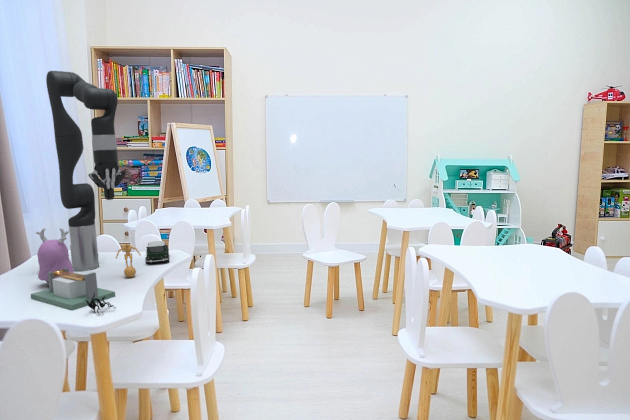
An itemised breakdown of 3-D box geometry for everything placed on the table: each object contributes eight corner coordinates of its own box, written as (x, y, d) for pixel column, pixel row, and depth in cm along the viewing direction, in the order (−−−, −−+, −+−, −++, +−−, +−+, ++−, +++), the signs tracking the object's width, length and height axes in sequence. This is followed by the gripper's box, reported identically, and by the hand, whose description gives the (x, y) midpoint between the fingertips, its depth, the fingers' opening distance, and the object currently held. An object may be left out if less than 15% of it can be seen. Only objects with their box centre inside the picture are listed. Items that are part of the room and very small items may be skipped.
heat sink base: (31, 298, 148) (27, 270, 147) (73, 286, 160) (70, 260, 159) (72, 310, 136) (69, 280, 135) (115, 296, 148) (112, 268, 147)
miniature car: (168, 254, 205) (167, 236, 203) (169, 264, 188) (168, 244, 186) (147, 256, 202) (145, 238, 201) (145, 266, 185) (144, 246, 184)
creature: (120, 309, 139) (93, 305, 138) (122, 292, 138) (95, 287, 138) (109, 319, 131) (80, 314, 131) (111, 301, 130) (83, 296, 130)
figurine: (118, 280, 166) (115, 247, 164) (117, 276, 171) (114, 244, 170) (143, 276, 170) (140, 244, 168) (141, 272, 175) (138, 241, 173)
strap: (52, 276, 150) (51, 271, 150) (61, 274, 153) (61, 269, 152) (82, 282, 141) (82, 276, 141) (92, 280, 144) (91, 274, 144)
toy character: (83, 281, 166) (77, 225, 163) (59, 290, 156) (52, 231, 154) (57, 279, 170) (51, 224, 167) (32, 287, 160) (25, 230, 158)
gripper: (115, 148, 166) (119, 197, 168) (80, 149, 155) (85, 201, 157) (128, 148, 162) (133, 197, 164) (93, 149, 151) (98, 202, 153)
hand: (109, 199), depth 161 cm, fingers closed
